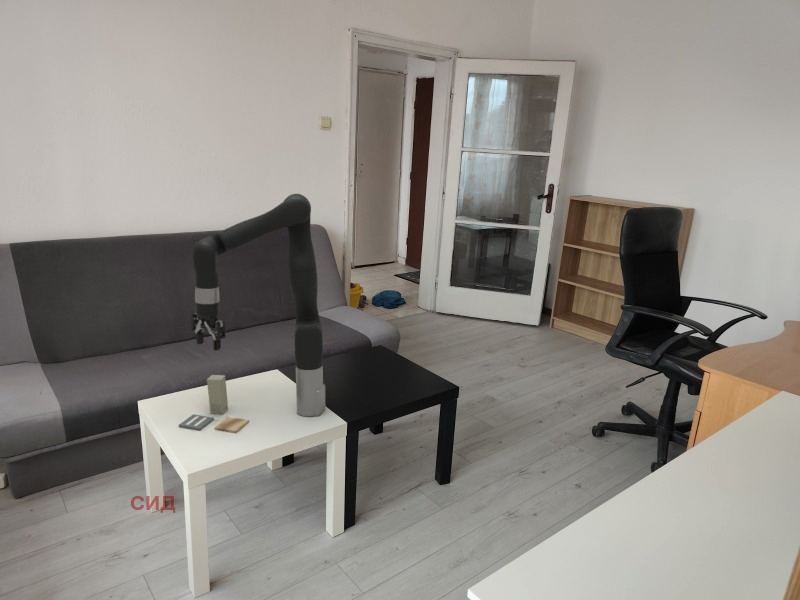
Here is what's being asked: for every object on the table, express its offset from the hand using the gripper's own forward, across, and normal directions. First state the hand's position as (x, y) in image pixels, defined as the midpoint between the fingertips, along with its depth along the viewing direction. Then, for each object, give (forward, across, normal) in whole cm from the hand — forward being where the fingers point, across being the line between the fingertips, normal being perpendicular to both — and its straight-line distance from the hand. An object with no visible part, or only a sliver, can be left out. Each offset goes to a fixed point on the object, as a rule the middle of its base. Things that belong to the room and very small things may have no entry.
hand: (208, 346), depth 186 cm
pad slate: (+25, -2, +7) cm, 26 cm away
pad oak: (+24, -13, +1) cm, 27 cm away
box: (+25, -1, -3) cm, 25 cm away
